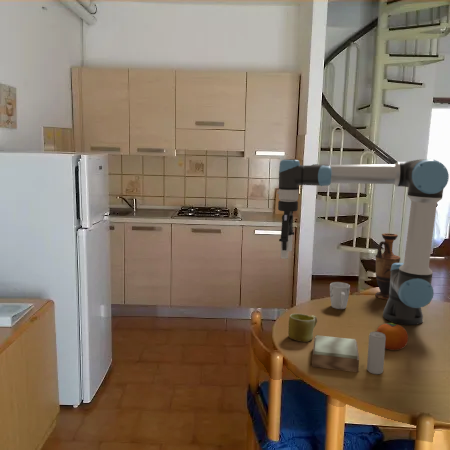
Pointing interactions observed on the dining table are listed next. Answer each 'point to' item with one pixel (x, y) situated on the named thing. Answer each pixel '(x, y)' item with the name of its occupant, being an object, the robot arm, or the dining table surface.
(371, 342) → the beverage can
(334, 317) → the dining table surface
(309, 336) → the mug
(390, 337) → the fruit
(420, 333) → the dining table surface
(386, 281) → the vase
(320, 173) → the robot arm
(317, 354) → the podium
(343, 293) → the mug
